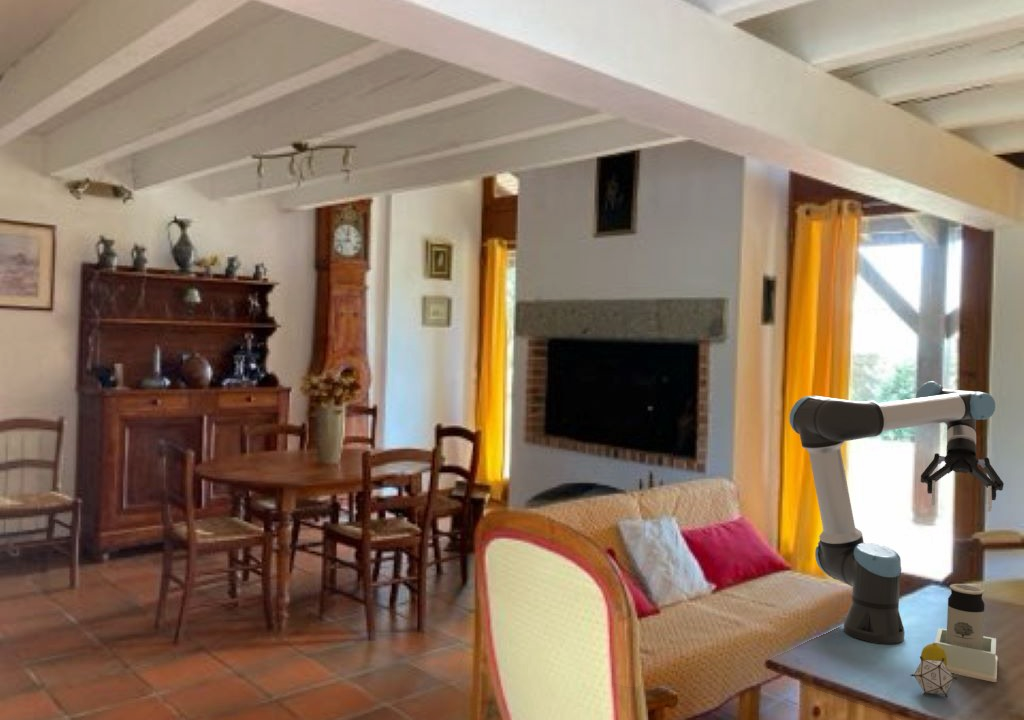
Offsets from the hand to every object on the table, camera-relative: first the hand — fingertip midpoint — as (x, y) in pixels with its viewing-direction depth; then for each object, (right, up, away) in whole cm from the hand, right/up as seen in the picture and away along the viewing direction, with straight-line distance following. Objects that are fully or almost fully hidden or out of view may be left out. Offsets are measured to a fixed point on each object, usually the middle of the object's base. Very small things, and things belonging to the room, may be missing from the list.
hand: (961, 505), depth 229 cm
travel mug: (-10, -35, -19) cm, 41 cm away
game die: (-27, -36, -39) cm, 60 cm away
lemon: (-22, -36, -29) cm, 51 cm away
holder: (-10, -36, -20) cm, 42 cm away
